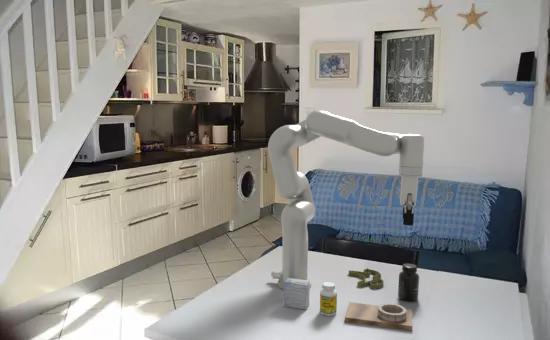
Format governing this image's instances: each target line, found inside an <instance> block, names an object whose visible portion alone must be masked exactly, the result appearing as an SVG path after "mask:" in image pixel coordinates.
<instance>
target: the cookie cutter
mask: <svg viewBox="0 0 550 340" xmlns="http://www.w3.org/2000/svg"><path fill="white" fill-rule="evenodd" d="M371 275H372V279H370V280H367V281H366V278H369V277H370V276H371ZM348 276H350V277H355V278H360V279H362V280H359V281H357V284H356V285H357V287H358V288H365V287H368V286H369V287H370V289H372V290H375V289H376V290H377V289H380V288H383V287H384V285H385V284H384V282H385V281H384V280H383V279H382V274H381V273H380V272H379V271H377V270H374V269H369V268H368V267H367V268H365V269H363V271H360V270H359V271H358V270H348Z"/></svg>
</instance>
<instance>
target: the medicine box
mask: <svg viewBox="0 0 550 340" xmlns="http://www.w3.org/2000/svg"><path fill="white" fill-rule="evenodd" d="M310 281H311V280H310ZM310 281H308V280H300V279H292V278H288V279H287V280H286V281H285V282H284V289H283V307H284V306H285V307H286V308H293V309H299V310H307V309H308V308H309V305H310V288H311V287H310Z"/></svg>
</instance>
